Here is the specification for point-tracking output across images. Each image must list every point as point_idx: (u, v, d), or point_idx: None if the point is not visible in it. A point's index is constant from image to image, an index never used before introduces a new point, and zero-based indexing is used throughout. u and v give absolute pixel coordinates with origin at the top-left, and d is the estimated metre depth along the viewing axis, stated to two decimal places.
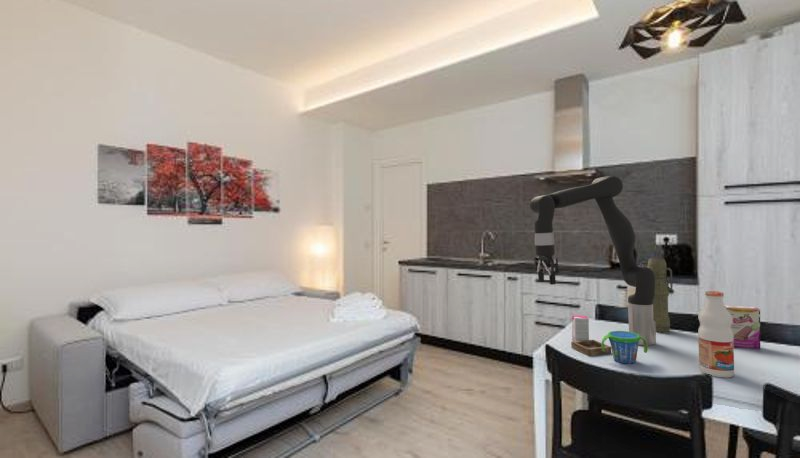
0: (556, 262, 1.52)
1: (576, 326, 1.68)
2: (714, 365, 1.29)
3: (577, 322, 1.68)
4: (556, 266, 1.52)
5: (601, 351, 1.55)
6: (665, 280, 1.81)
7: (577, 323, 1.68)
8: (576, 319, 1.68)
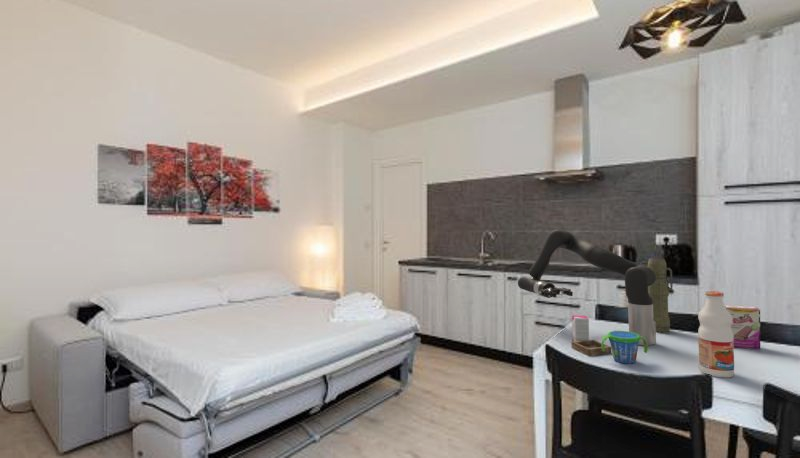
0: (540, 291, 1.89)
1: (576, 326, 1.68)
2: (714, 365, 1.29)
3: (577, 322, 1.68)
4: (541, 291, 1.87)
5: (601, 351, 1.55)
6: (665, 280, 1.81)
7: (577, 323, 1.68)
8: (576, 319, 1.68)
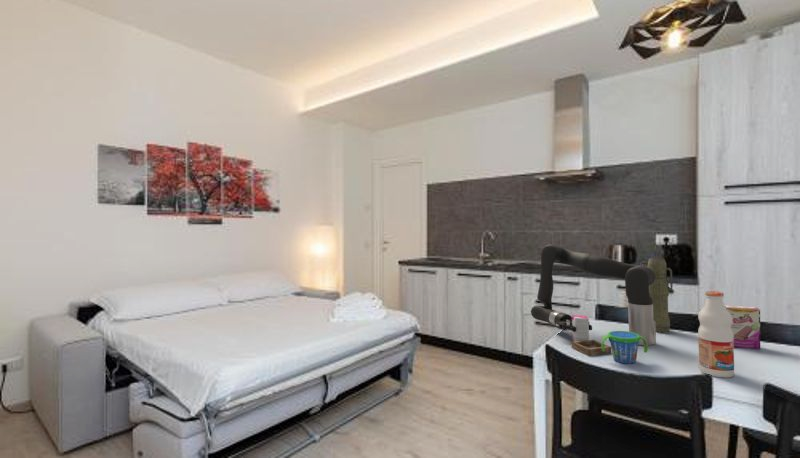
0: (557, 323, 1.76)
1: (576, 326, 1.68)
2: (714, 365, 1.29)
3: (577, 322, 1.68)
4: (559, 324, 1.74)
5: (601, 351, 1.55)
6: (665, 280, 1.81)
7: (577, 323, 1.68)
8: (576, 319, 1.68)
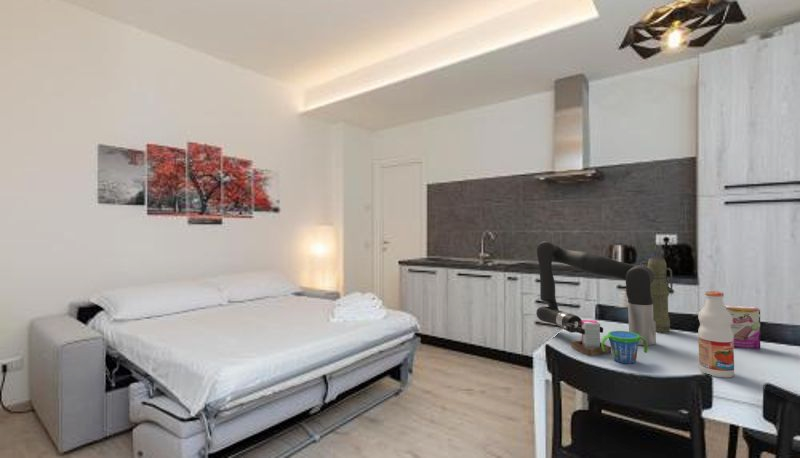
0: (564, 325, 1.65)
1: (586, 332, 1.58)
2: (714, 365, 1.29)
3: (587, 327, 1.58)
4: (567, 326, 1.64)
5: (601, 351, 1.55)
6: (665, 280, 1.81)
7: (587, 328, 1.58)
8: (586, 324, 1.58)
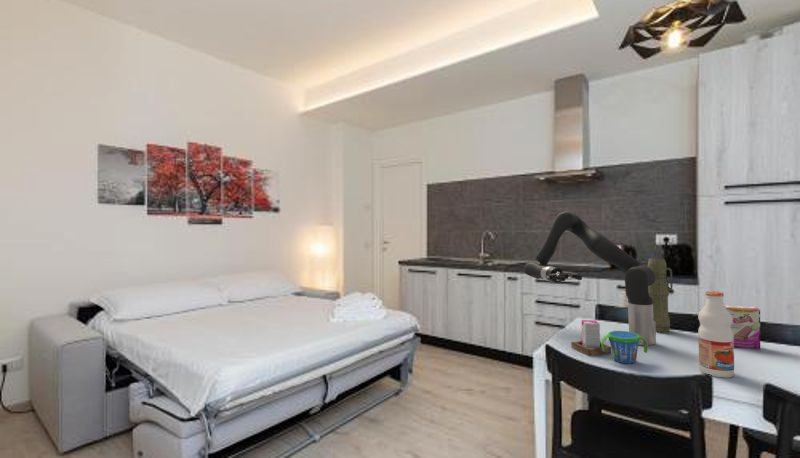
0: (547, 275, 1.82)
1: (586, 332, 1.58)
2: (714, 365, 1.29)
3: (587, 327, 1.58)
4: (549, 276, 1.80)
5: (601, 351, 1.55)
6: (665, 280, 1.81)
7: (587, 328, 1.58)
8: (586, 324, 1.58)
